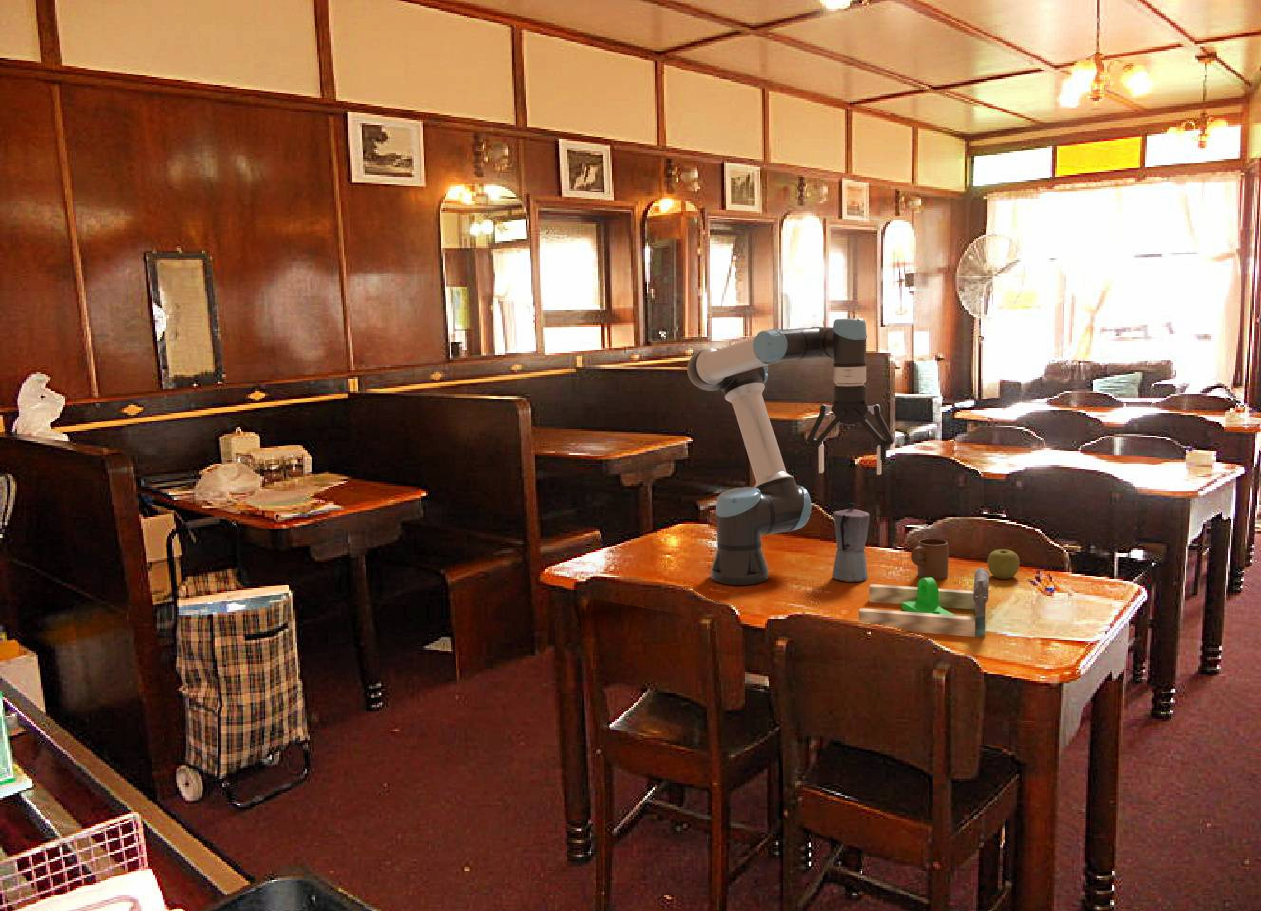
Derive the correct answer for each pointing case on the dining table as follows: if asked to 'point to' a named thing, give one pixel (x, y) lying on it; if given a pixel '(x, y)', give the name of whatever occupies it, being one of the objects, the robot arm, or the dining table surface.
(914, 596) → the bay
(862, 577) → the moka pot
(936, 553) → the mug
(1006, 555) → the apple
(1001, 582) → the dining table surface
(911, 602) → the mechanical part
